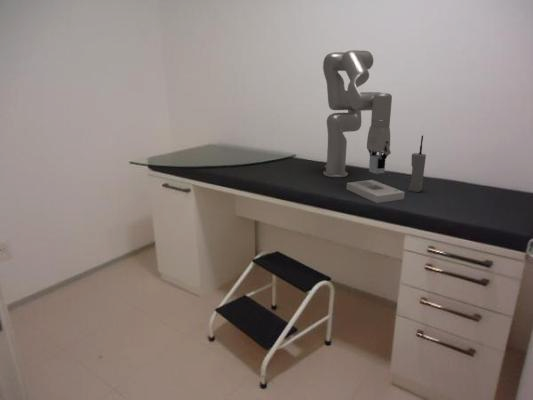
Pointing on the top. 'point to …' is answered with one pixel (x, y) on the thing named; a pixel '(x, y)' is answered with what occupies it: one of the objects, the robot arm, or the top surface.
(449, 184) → the top surface
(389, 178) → the top surface
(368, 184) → the outlet plate
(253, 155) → the top surface
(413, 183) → the vintage mobile phone
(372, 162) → the charger block
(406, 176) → the top surface
